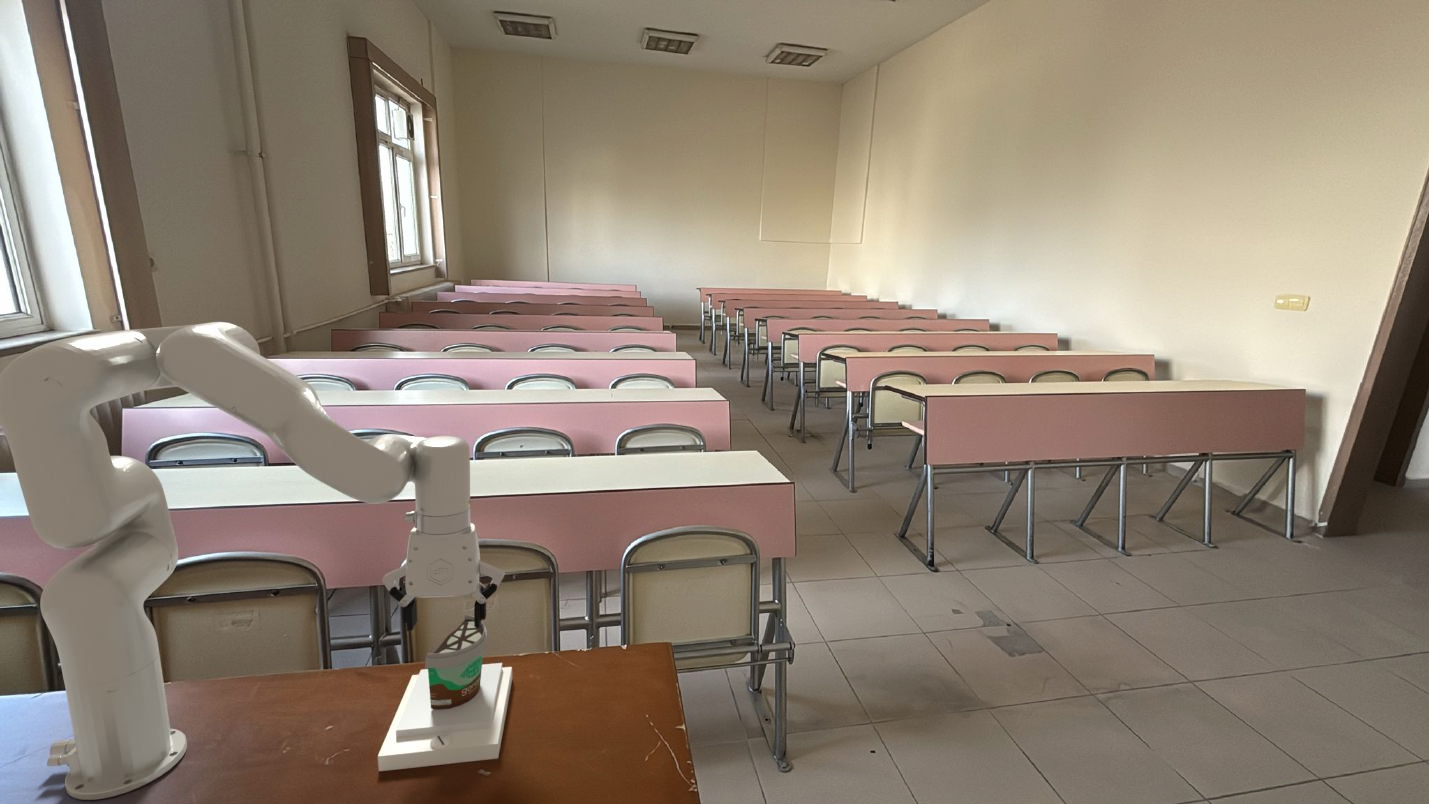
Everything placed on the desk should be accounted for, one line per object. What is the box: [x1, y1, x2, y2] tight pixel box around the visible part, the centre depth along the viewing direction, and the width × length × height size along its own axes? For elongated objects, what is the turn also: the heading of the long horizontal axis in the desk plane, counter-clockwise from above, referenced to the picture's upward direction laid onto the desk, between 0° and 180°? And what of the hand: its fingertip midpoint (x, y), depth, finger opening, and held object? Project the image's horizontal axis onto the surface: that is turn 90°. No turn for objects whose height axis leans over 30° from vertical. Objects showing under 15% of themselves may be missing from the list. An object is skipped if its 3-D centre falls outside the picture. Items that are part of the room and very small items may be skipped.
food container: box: [424, 613, 489, 709], centre depth 102 cm, size 12×6×10 cm, turn 173°
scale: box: [377, 662, 513, 772], centre depth 101 cm, size 16×19×4 cm
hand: (445, 624), depth 100 cm, fingers open, 9 cm apart
